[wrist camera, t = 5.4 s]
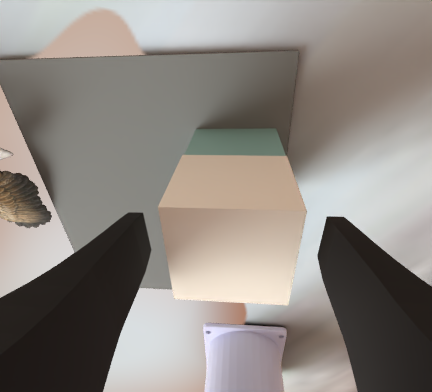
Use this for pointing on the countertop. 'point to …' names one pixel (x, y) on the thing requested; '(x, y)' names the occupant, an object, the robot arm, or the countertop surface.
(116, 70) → the build mat
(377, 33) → the countertop surface
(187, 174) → the cream brick
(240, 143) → the teal brick
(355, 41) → the countertop surface
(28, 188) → the eagle figurine
